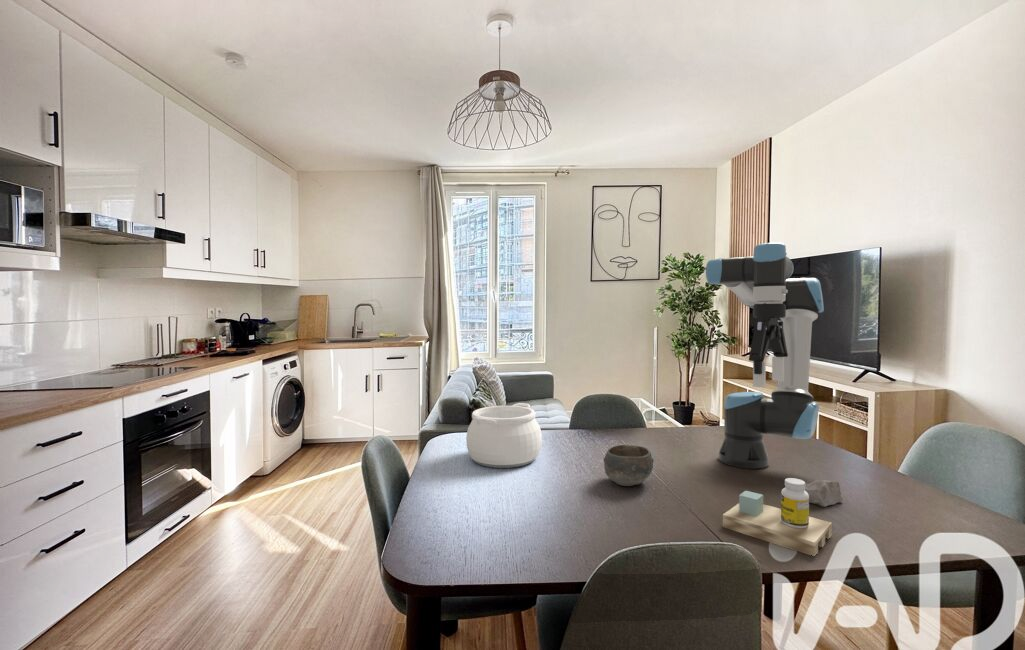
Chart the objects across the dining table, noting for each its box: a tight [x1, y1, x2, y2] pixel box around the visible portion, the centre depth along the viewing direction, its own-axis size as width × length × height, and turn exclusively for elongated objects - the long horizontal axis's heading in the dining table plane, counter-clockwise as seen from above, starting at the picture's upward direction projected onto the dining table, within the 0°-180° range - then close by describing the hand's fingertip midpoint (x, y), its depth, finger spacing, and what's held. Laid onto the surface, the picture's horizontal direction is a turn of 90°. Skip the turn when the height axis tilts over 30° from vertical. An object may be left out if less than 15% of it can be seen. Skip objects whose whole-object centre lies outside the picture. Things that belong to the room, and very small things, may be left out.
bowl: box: [603, 444, 655, 487], centre depth 141 cm, size 14×15×10 cm
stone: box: [805, 479, 843, 508], centre depth 127 cm, size 10×8×6 cm
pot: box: [466, 402, 543, 469], centre depth 166 cm, size 29×26×17 cm
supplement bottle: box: [780, 477, 810, 528], centre depth 107 cm, size 5×5×10 cm
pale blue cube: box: [738, 490, 764, 516], centre depth 114 cm, size 4×4×4 cm
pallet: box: [722, 502, 833, 557], centre depth 110 cm, size 19×13×3 cm
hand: (768, 383), depth 125 cm, fingers open, 13 cm apart
